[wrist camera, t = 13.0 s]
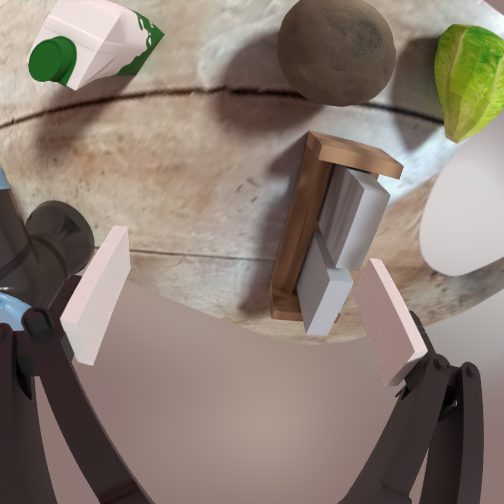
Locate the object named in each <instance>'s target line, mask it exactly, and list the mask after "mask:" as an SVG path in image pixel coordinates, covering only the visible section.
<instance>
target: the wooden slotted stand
mask: <svg viewBox="0 0 504 504" xmlns="http://www.w3.org/2000/svg"><path fill="white" fill-rule="evenodd" d="M403 167H404V166H403V165H401V164H400V163H399V162H398V161H396V160H395V159H394V158H392V157H391V156H390V155H388V154H387V153H386V152H384V151H383V150H382V149H379V148H376V147H372V146H369V145H365V144H362V143H358V142H354V141H351V140H347V139H343V138H339V137H335V136H331V135H327V134H322V133H318V132H314V131H309V133H308V137H307V142H306V146H305V150H304V154H303V158H302V162H301V166H300V170H299V174H298V178H297V182H296V186H295V190H294V194H293V198H292V202H291V206H290V210H289V213H288V217H287V221H286V225H285V229H284V233H283V236H282V240H281V244H280V248H279V251H278V255H277V259H276V263H275V266H274V270H273V274H272V277H271V281H270V285H269V297H270V307H271V317H272V319H278V320H291V321H303V317H302V312H301V307H300V302H299V297H298V292H297V288H296V281H297V278H298V275H299V272H300V270H301V267H302V264H303V261H304V258H305V255H306V252H307V249H308V246H309V243H310V240H311V237H312V234H313V232H317V233H322V235H323V238H324V240H325V243H326V245H327V248H328V250H329V253H330V255H331V258H332V260H333V263H334V266H335V268H342V269H350V270H358V271H359V270H360V268H361V266H362V264H363V261H364V259H365V257H366V255H367V252H368V250H369V248H370V245H371V243H372V241H373V238H374V236H375V233H376V231H377V229H378V226H379V224H380V221H381V219H382V216H383V214H384V211H385V209H386V206H387V203H388V201H389V198H390V194H389V193H388V192H387V191H386V190H385V189H384V188H383V187H382V186H381V185H380V184H379V182H378V181H377V179H378V176H379V174H381V175H385V176H388V177H392V178H395V179H400V176H401V173H402V170H403ZM339 317H340V314H339V313H338V315H337V317H336V319H335V321H334V323H337V321H338V319H339Z"/></svg>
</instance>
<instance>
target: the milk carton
mask: <svg viewBox="0 0 504 504" xmlns="http://www.w3.org/2000/svg"><path fill="white" fill-rule="evenodd" d="M164 35H165V34H164V33H163V32H161V31H160V30H159V29H158V28H157V27H156V26H155V25H154V24H153V23H152V22H151V21H149V20H148V19H147V18H145V17H144V16H142V15H140V14H139V13H137V12H135V11H133V10H130V9H128V8H125V7H123V6H120V5H117V4H115V3H112V2H109V1H106V0H58V1H57V3H56V5H55V6H54V8H53V10H52V11H51V13H50V15H48V16H47V18H46V19H45V21H44V23H43V26H42V28H41V30H40V32H39V34H38V36H37V38H36V40H35V42H34V44H33V46H32V48H31V50H30V52H29V55H28V57H27V59H26V63H27V64H28V66H29V72H30V74H31V76H32V77H33V78H34V79H35V80H37V81H40V82H45V81H52V82H58V83H60V84H62V85H63V86H65V87H66V86H68V87H69V88H71V89H73V90H74V91H76V90H78V89H80V88H81V87H83V86H85V85H86V84H88V83H90V82H92V81H93V80H95V79H99V78H104V77H110V76H117V75H137V73H138V72H139V70H140V68H141V67H142V65H143V64H144V62H145V61H146V60H147V58H148V57H149V55H150V54H151V52H152V51H153V50H154V48H155V47H156V45H157V44H158V43H159V41H160V40H161V39H162V37H163V36H164Z"/></svg>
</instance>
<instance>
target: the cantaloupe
mask: <svg viewBox="0 0 504 504" xmlns="http://www.w3.org/2000/svg"><path fill="white" fill-rule="evenodd" d="M277 51H278V58H279V61H280V64H281V67H282V70H283V72H284V75H285V77H286V78H287V80H288V81H289V83H290V84H291V85H292V86H293V87H294V88H295V89H296V90H297V91H298V92H299V93H300V94H301V95H302V96H304V97H306V98H307V99H309V100H311V101H313V102H316V103H319V104H327V105H331V106H338V107H344V106H349V105H358V104H362V103H365V102H367V101H369V100H371V99H372V98H374V97H376V96H377V95H378V94H379V93H380V92H381V91H382V90H383V89H384V88H385V86H386V85H387V84H388V82H389V80H390V78H391V76H392V72H393V69H394V64H395V56H396V50H395V46H394V42H393V36H392V32H391V30H390V28H389V26H388V24H387V22H386V20H385V19H384V18H383V16H382V15H381V14H380V13H379V12H378V11H377V10H376V9H375V8H374V7H373V6H371V5H370V4H368V3H366V2H365V1H363V0H300V1H298V2H297V3H296V4H295V5H294V6H293V7H292V8H291V9H290V10H289V12H288V13H287V14H286V16H285V17H284V19H283V21H282V25H281V28H280V32H279V36H278V42H277Z"/></svg>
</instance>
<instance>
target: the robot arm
mask: <svg viewBox="0 0 504 504" xmlns="http://www.w3.org/2000/svg"><path fill="white" fill-rule="evenodd" d="M93 252H94V237H93V234H92V231H91V229H90V226H89V225H88V223H87V221H86V220H85V219H84V217H83V216H82V215H81V214H80V213H79V212H78V211H77V210H76V209H74V208H73V207H71V206H70V205H68V204H66V203H63V202H60V201H46V202H44V203H42V204H40V205H39V206H38V207H37V208H36V209H35V210H34V211H33V212H32V213H31V214H30V216H29V218H28V220H27V222H26V226H25V225H24V223H23V220H22V218H21V215H20V213H19V210H18V207H17V205H16V202H15V199H14V196H13V194H12V191H11V186H10V185H9V183H8V181H7V178H6V175H5V173H4V170H3V168H2V166H1V165H0V504H57V500H56V497H55V494H54V490H53V487H52V483H51V479H50V475H49V471H48V467H47V463H46V458H45V453H44V448H43V443H42V437H41V432H40V425H39V418H38V411H37V403H36V394H35V393H36V392H35V380H34V376H40V379H41V382H42V385H43V387H44V390H45V393H46V396H47V398H48V401H49V404H50V406H51V409H52V411H53V413H54V416H55V418H56V421H57V423H58V425H59V427H60V430H61V432H62V434H63V436H64V438H65V440H66V442H67V445H68V447H69V449H70V451H71V453H72V454H73V456H74V458H75V460H76V462H77V464H78V466H79V468H80V469H81V471H82V473H83V475H84V476H85V478H86V480H87V482H88V483H89V485H90V487H91V488H92V490H93V492H94V493H95V495H96V496H97V498H98V500H99V502H100V504H155V503H154V502H153V501H152V499H151V498H150V497H149V496H148V494H147V493H146V492H145V490H144V489H143V487H142V486H141V485H140V483H139V482H138V481H137V479H136V478H135V476H134V475H133V473H132V472H131V471H130V469H129V468H128V466H127V465H126V463H125V462H124V460H123V459H122V457H121V456H120V454H119V452H118V451H117V449H116V447H115V446H114V444H113V443H112V441H111V439H110V438H109V436H108V434H107V433H106V431H105V429H104V427H103V426H102V424H101V422H100V420H99V419H98V416H97V415H96V413H95V411H94V409H93V407H92V405H91V403H90V401H89V399H88V397H87V396H86V393H85V391H84V389H83V387H82V385H81V383H80V381H79V378H78V376H77V374H76V372H75V370H74V367H73V365H72V363H71V361H72V359H73V356H74V355H75V358H76V360H77V362H80V363H84V364H88V365H92V366H93V364H94V361H95V358H96V356H97V353H98V350H99V347H100V344H101V341H102V339H103V336H104V333H105V331H106V328H107V325H108V323H109V320H110V318H111V315H112V312H113V310H114V307H115V305H116V302H117V300H118V297H119V295H120V292H121V290H122V288H123V285H124V283H125V281H126V278H127V276H128V274H129V272H130V269H131V267H130V255H129V240H128V227H126V226H117V225H114V226H113V228H112V229H111V231H110V233H109V234H108V236H107V237H106V239H105V240H104V242H103V244H102V245H101V247H100V248H99V250H98V252H97V253H96V255H95V257H94V258H93V260H92V262H91V263H90V265H89V267H88V268H87V270H86V272H85V273H84V275H83V276H78V275H75V274H76V273H78V272H80V271H81V270H82V269H84V268H85V267H86V265H87V264H88V262H89V261H90V259H91V257H92V255H93ZM353 297H354V299H355V302H356V305H357V307H358V310H359V312H360V315H361V318H362V321H363V323H364V326H365V329H366V331H367V334H368V337H369V340H370V343H371V345H372V348H373V351H374V354H375V357H376V360H377V363H378V366H379V369H380V372H381V375H382V378H383V381H384V384H385V386H386V387H388V386H397V385H398V384H400V383H401V382H402V380H403V379H405V382H406V385H405V386H404V387H403V388H402V389H401V390H400V391H399V392H398V393H397V394H396V396H395V397H398V395H400V396H399V398H398V401H397V403H396V405H395V407H394V409H393V412H392V414H391V416H390V418H389V420H388V422H387V424H386V426H385V428H384V430H383V433H382V434H381V436H380V438H379V440H378V442H377V444H376V446H375V448H374V450H373V451H372V453H371V455H370V457H369V459H368V461H367V462H366V464H365V465H364V468H363V469H362V471H361V473H360V474H359V476H358V477H357V479H356V481H355V482H354V484H353V485H352V487H351V488H350V490H349V492H348V493H347V495H346V496H345V497H344V498H343V499H342V500H341V501H340V502H339V503H338V504H412V500H411V499H410V498H409V493H410V491H411V488H412V486H413V484H414V482H415V479H416V477H417V475H418V472H419V470H420V468H421V465H422V463H423V460H424V457H425V455H426V452H427V449H428V447H429V450H428V458H427V464H426V471H425V476H424V482H423V487H422V492H421V498H420V502H419V504H479V503H480V494H481V485H482V472H483V451H484V424H483V402H482V390H481V379H480V373H479V370H478V369H477V367H476V366H475V365H474V364H472V363H471V362H465V363H463V365H462V366H461V367H460V368H459V367H455V366H451V365H450V363H449V362H448V360H447V359H446V358H445V357H444V356H442V355H440V354H436V352H435V350H434V348H433V346H432V344H431V342H430V340H429V338H428V336H427V334H426V333H425V330H424V328H423V327H422V324H421V322H420V320H419V318H418V317H417V316H416V314H415V313H414V312H413V311H408V309H407V307H406V305H405V303H404V301H403V299H402V297H401V295H400V294H399V292H398V290H397V288H396V286H395V284H394V282H393V281H392V279H391V277H390V275H389V273H388V272H387V270H386V268H385V266H384V264H383V263H382V261H381V259H374V258H369V260H368V262H367V265H366V267H365V269H364V271H363V273H362V275H361V277H360V280H359V282H358V284H357V286H356V288H355V290H354V292H353ZM456 401H457V406H456Z"/></svg>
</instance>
